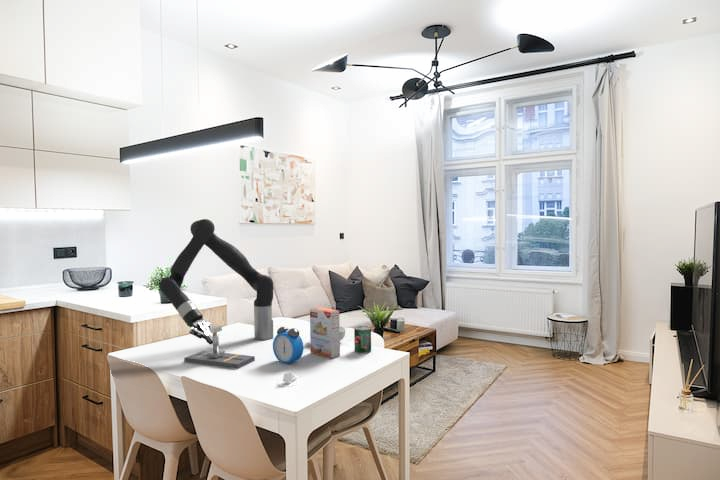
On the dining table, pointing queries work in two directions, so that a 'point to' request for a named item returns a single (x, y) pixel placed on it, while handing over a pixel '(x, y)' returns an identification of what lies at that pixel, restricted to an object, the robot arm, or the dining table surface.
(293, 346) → the alarm clock
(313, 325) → the cracker box
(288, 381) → the teacup and saucer
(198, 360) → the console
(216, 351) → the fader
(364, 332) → the canned tomato
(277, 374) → the dining table surface
